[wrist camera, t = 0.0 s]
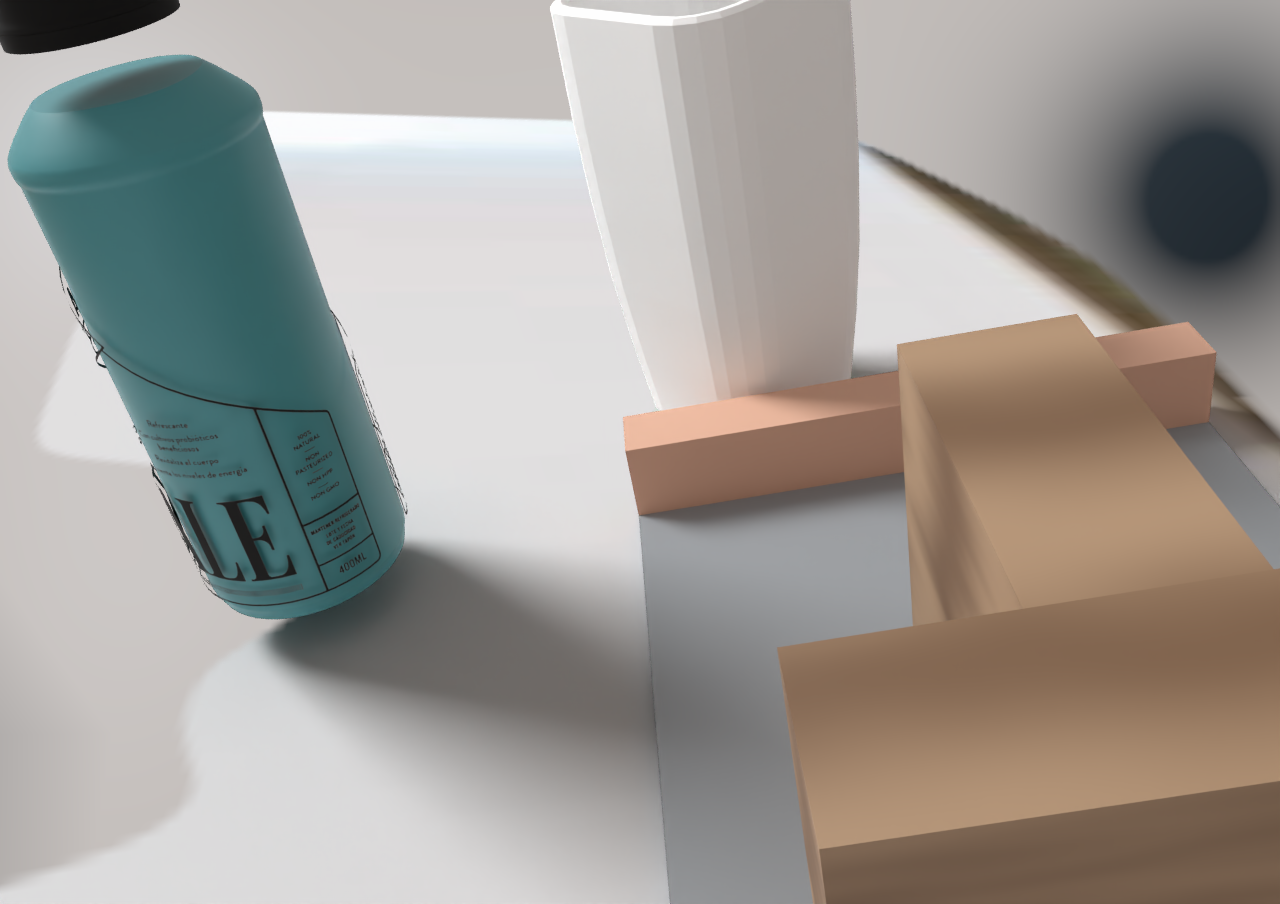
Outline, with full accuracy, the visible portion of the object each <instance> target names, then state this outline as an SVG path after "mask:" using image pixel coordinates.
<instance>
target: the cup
mask: <svg viewBox="0 0 1280 904" xmlns="http://www.w3.org/2000/svg"><path fill="white" fill-rule="evenodd" d="M550 10H551V15H552V20H553V25H554V30H555V35H556V40H557V45H558V50H559V55H560V60H561V65H562V69H563V75H564V80H565V85H566V90H567V95H568V100H569V105H570V109H571V114H572V119H573V124H574V128H575V132H576V137H577V141H578V146H579V150H580V154H581V159H582V163H583V167H584V172H585V176H586V181H587V185H588V189H589V193H590V197H591V201H592V205H593V209H594V212H595V216H596V220H597V224H598V228H599V231H600V235H601V239H602V243H603V247H604V250H605V254H606V258H607V262H608V266H609V269H610V273H611V276H612V280H613V283H614V286H615V289H616V292H617V295H618V299H619V302H620V305H621V308H622V311H623V314H624V317H625V321H626V324H627V327H628V330H629V333H630V336H631V339H632V342H633V345H634V348H635V351H636V354H637V357H638V359H639V362H640V365H641V368H642V370H643V373H644V376H645V379H646V381H647V384H648V387H649V390H650V393H651V395H652V398H653V401H654V404H655V406H656V408H657V409H659V410H660V411H662V410H668V409H674V408H680V407H686V406H692V405H698V404H704V403H709V402H715V401H721V400H727V399H733V398H739V397H745V396H751V395H757V394H763V393H769V392H775V391H781V390H787V389H793V388H799V387H805V386H811V385H816V384H822V383H828V382H834V381H840V380H846V379H851V370H852V358H853V346H854V334H855V322H856V309H857V285H858V262H859V149H858V125H857V102H856V81H855V79H856V78H855V62H854V47H853V33H852V18H851V4H850V0H555V1H554V2H553V4H552V5H551V7H550Z"/></svg>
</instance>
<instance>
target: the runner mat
mask: <svg viewBox="0 0 1280 904" xmlns="http://www.w3.org/2000/svg"><path fill="white" fill-rule="evenodd" d="M1096 340H1097V341H1098V342H1099V343H1100V345H1101V346H1102V347H1103V349H1104V350H1105V351H1106V352H1107V354H1108V355H1109V356H1110V358H1111V359H1112V360H1113V362H1114V363H1115V364H1116V365H1117V367H1118V368H1119V369H1120V371H1121V372H1122V373H1123V374H1124V376H1125V377H1126V378H1127V380H1128V381H1129V382H1130V384H1131V385H1132V386H1133V387H1134V389H1135V390H1136V391H1137V393H1138V394H1139V395H1140V397H1141V398H1142V399H1143V400H1144V402H1145V403H1146V404H1147V406H1148V407H1149V408H1150V409H1151V411H1152V412H1153V413H1154V415H1155V416H1156V417H1157V419H1158V420H1159V421H1160V422H1161V424H1162V425H1163V426H1164V428H1165V429H1166V430H1167V431H1168V433H1169V434H1170V435H1171V437H1172V438H1173V439H1174V441H1175V442H1176V443H1177V444H1178V446H1179V447H1180V448H1181V450H1182V451H1183V452H1184V454H1185V455H1186V456H1187V457H1188V459H1189V460H1190V461H1191V463H1192V464H1193V465H1194V466H1195V468H1196V469H1197V470H1198V472H1199V473H1200V474H1201V476H1202V477H1203V478H1204V479H1205V481H1206V482H1207V483H1208V485H1209V486H1210V487H1211V488H1212V490H1213V491H1214V492H1215V494H1216V495H1217V496H1218V498H1219V499H1220V500H1221V501H1222V503H1223V504H1224V505H1225V507H1226V508H1227V509H1228V511H1229V512H1230V513H1231V514H1232V516H1233V517H1234V518H1235V520H1236V521H1237V522H1238V523H1239V525H1240V526H1241V527H1242V529H1243V530H1244V531H1245V533H1246V534H1247V535H1248V536H1249V538H1250V539H1251V540H1252V542H1253V543H1254V544H1255V545H1256V547H1257V548H1258V549H1259V551H1260V552H1261V553H1262V555H1263V556H1264V557H1265V558H1266V560H1267V561H1268V562H1269V564H1270V565H1271V566H1272V568H1273V569H1279V568H1280V507H1279V505H1278V504H1277V503H1276V502H1275V501H1274V499H1273V498H1272V497H1271V496H1270V495H1269V493H1268V492H1267V491H1266V490H1265V489H1264V487H1263V486H1262V485H1261V484H1260V483H1259V481H1258V480H1257V479H1256V478H1255V477H1254V476H1253V474H1252V473H1251V472H1250V471H1249V470H1248V468H1247V467H1246V466H1245V465H1244V464H1243V462H1242V461H1241V460H1240V459H1239V458H1238V456H1237V455H1236V454H1235V453H1234V452H1233V450H1232V449H1231V448H1230V447H1229V446H1228V444H1227V443H1226V442H1225V441H1224V440H1223V438H1222V437H1221V436H1220V435H1219V434H1218V432H1217V431H1216V430H1215V429H1214V428H1213V426H1212V425H1211V424H1210V423H1209V416H1210V407H1211V398H1212V389H1213V380H1214V371H1215V362H1216V352H1215V350H1214V349H1213V348H1212V347H1211V346H1210V345H1209V344H1208V343H1207V342H1206V341H1205V340H1204V339H1203V337H1202V336H1201V335H1200V334H1199V333H1198V332H1197V331H1196V330H1195V329H1194V328H1193V327H1192V326H1191V325H1190V323H1189V322H1185V323H1179V324H1173V325H1167V326H1161V327H1155V328H1149V329H1143V330H1137V331H1131V332H1125V333H1120V334H1114V335H1108V336H1102V337H1096ZM623 423H624V437H625V451H626V456H627V461H628V466H629V470H630V475H631V480H632V485H633V490H634V494H635V499H636V504H637V509H638V513H639V523H640V535H641V548H642V560H643V573H644V585H645V598H646V610H647V623H648V635H649V648H650V661H651V673H652V686H653V698H654V711H655V723H656V736H657V748H658V761H659V773H660V786H661V798H662V811H663V823H664V836H665V848H666V861H667V873H668V886H669V899H670V904H813V899H812V892H811V885H810V878H809V871H808V864H807V857H806V850H805V843H804V836H803V828H802V821H801V814H800V807H799V800H798V793H797V786H796V779H795V772H794V765H793V758H792V750H791V743H790V736H789V729H788V722H787V715H786V708H785V701H784V694H783V687H782V679H781V672H780V665H779V658H778V651H777V647H783V646H790V645H796V644H802V643H809V642H815V641H821V640H828V639H834V638H840V637H847V636H853V635H859V634H866V633H872V632H879V631H885V630H891V629H898V628H904V627H910V626H913V619H912V601H911V584H910V566H909V548H908V530H907V513H906V495H905V477H904V459H903V441H902V424H901V406H900V388H899V371H894V372H888V373H882V374H876V375H870V376H864V377H858V378H852V379H846V380H840V381H834V382H828V383H822V384H816V385H811V386H805V387H799V388H793V389H787V390H781V391H775V392H769V393H763V394H757V395H751V396H745V397H739V398H733V399H727V400H721V401H715V402H709V403H704V404H698V405H692V406H686V407H680V408H674V409H668V410H662V411H656V412H650V413H644V414H638V415H632V416H626V417H623Z"/></svg>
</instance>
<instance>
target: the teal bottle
mask: <svg viewBox="0 0 1280 904" xmlns="http://www.w3.org/2000/svg"><path fill="white" fill-rule="evenodd" d="M179 7H180V3H179V0H0V43H1V45H2V47H3V50H4V51H5V52H6V53H10V54H34V53H42V52H50V51H56V50H61V49H67V48H72V47H76V46H81V45H84V44H89V43H93V42H97V41H101V40H105V39H108V38H112V37H115V36H118V35H121V34H125V33H128V32H130V31H133V30H136V29H139V28H142V27H145V26H147V25H150V24H152V23H154V22H157V21H159V20H161V19H163V18H165V17H167V16H169V15H170V14H172V13H174V12H175V11H176V10H177V9H178V8H179ZM8 167H9V170H10V172H11V174H12V176H13V178H14V180H15V181H16V183H17V184H18V185H19V186H20V187H21V188H22V190H23V192H24V194H25V197H26V199H27V201H28V203H29V205H30V207H31V209H32V211H33V213H34V215H35V217H36V219H37V221H38V223H39V225H40V227H41V229H42V231H43V233H44V235H45V238H46V240H47V242H48V244H49V246H50V248H51V250H52V252H53V254H54V256H55V258H56V260H57V262H58V264H59V270H60V268H61V270H62V272H63V274H64V276H65V279H66V281H67V282H68V285H69V288H70V290H71V293H72V295H73V296H72V295H71V293H70V291H69V289H68V288H67V290H68V293H69V295H70V298H71V300H72V303H73V305H74V307H75V304H76V307H75V309H76V312H77V310H79V312H80V313H81V315H82V317H83V325H82V324H81V323H80V321H79V320H78V321H79V323H80V324H81V325H82V326H83V327H82V328H84V329H85V327H84V322H85V324H86V326H87V329H88V331H89V332H88V331H87V330H86V329H85V331H84V332H87V333H88V334H89V335H90V336H91V337H92V338H93V342H94V344H95V345H96V347H97V349H98V351H97V352H96V351H95V352H96V354H97V355H96V361H97V359H98V356H99V355H101V357H102V359H103V361H104V363H105V365H106V366H105V365H101V364H99V363H98V362H97V363H98V365H99V366H101V367H103V368H107V369H108V371H109V374H110V376H111V378H112V380H113V382H114V384H115V386H116V388H117V390H118V392H119V394H120V396H121V398H122V401H123V403H124V405H125V407H126V409H127V411H128V413H129V415H130V417H131V419H132V421H133V423H134V425H135V426H134V427H135V428H136V433H137V432H138V434H139V436H140V437H139V438H140V440H142V441H140V443H141V444H142V442H143V444H144V446H145V448H146V450H147V452H148V454H149V457H150V459H151V461H152V463H153V465H154V466H152V464H151V463H150V464H151V467H152V473H153V476H154V477H155V478H156V479H157V480H158V482H159V483H160V484H161V486H162V487H163V488H164V489H165V491H166V493H167V496H168V498H169V501H170V504H171V507H172V509H171V507H170V505H169V504H168V502H167V500H166V498H165V496H164V494H163V493H162V491H161V489H160V488H159V490H160V492H161V494H162V496H163V498H164V500H165V503H166V505H167V506H168V509H169V511H170V513H171V514H172V516H173V518H174V520H175V521H176V524H177V526H178V527H179V529H180V531H181V533H182V535H183V537H184V538H182V539H183V540H184V541H185V543H186V544H187V547H188V550H189V548H190V550H191V552H192V553H193V555H194V558H195V559H196V561H197V562H198V564H199V568H200V569H202V570H203V571H204V572H205V573H206V575H207V577H208V579H209V581H210V582H209V581H208V582H209V584H210V583H211V585H212V587H213V589H214V590H215V592H216V593H217V595H216V594H214V593H213V594H214V595H215V596H217V597H219V598H221V599H223V600H224V602H225V603H227V604H228V605H229V606H230V607H231V608H232V609H234V610H236V611H237V612H239V613H241V614H244V615H247V616H250V617H255V618H261V619H287V618H294V617H300V616H305V615H309V614H313V613H317V612H320V611H323V610H326V609H328V608H331V607H333V606H336V605H338V604H340V603H342V602H344V601H346V600H348V599H350V598H352V597H354V596H355V595H357V594H359V593H360V592H362V591H363V590H365V589H366V588H368V587H369V586H371V585H372V584H373V583H374V582H376V581H377V580H378V579H379V578H380V577H381V576H382V575H383V574H384V573H385V572H386V571H387V570H388V569H389V568H390V567H391V565H392V564H393V563H394V562H395V560H396V558H397V557H398V555H399V553H400V551H401V549H402V547H403V543H404V535H405V527H404V523H405V518H404V511H405V509H404V511H403V508H404V506H403V508H402V505H403V503H402V505H401V502H402V500H401V502H400V500H399V497H398V494H399V492H398V494H397V491H398V490H399V489H398V488H397V486H395V485H396V483H395V485H394V483H393V480H392V477H393V475H395V477H396V473H395V472H394V470H393V469H394V467H393V469H392V468H391V469H392V470H393V472H394V473H395V474H394V473H393V472H391V474H392V473H393V475H392V477H391V474H390V471H391V469H390V471H389V469H388V466H387V463H386V460H387V458H386V460H385V457H386V455H388V454H389V453H388V454H387V453H386V452H385V450H387V449H386V448H385V447H384V449H383V451H384V454H385V453H386V455H385V457H384V454H383V452H382V449H381V446H380V443H381V441H380V443H379V440H380V438H379V440H378V438H377V435H376V432H375V429H374V427H375V428H376V431H377V430H378V428H379V424H378V428H377V427H376V426H375V424H374V425H373V423H374V421H373V423H372V421H371V418H370V415H369V412H368V409H367V406H368V404H367V406H366V404H365V401H364V398H363V395H362V392H363V390H362V392H361V389H362V387H361V389H360V387H359V384H358V381H357V378H356V375H355V373H354V370H353V367H352V364H351V361H350V358H349V356H348V353H347V350H346V347H345V344H344V341H343V339H342V336H341V333H340V330H339V327H338V324H337V322H336V319H337V318H336V319H334V318H335V317H336V316H335V315H334V313H333V312H332V311H331V310H330V308H329V305H328V302H327V299H326V296H325V293H324V290H323V287H322V285H321V282H320V279H319V276H318V273H317V270H316V267H315V264H314V262H313V259H312V256H311V253H310V250H309V247H308V244H307V241H306V239H305V236H304V233H303V230H302V227H301V224H300V221H299V218H298V215H297V213H296V210H295V207H294V204H293V201H292V198H291V195H290V192H289V190H288V187H287V184H286V181H285V178H284V175H283V172H282V169H281V167H280V164H279V161H278V158H277V155H276V152H275V149H274V146H273V143H272V141H271V138H270V135H269V132H268V129H267V126H266V123H265V120H264V118H263V108H262V103H261V100H260V97H259V95H258V93H257V92H256V90H255V89H254V88H253V87H252V86H251V85H249V84H248V83H246V82H245V81H243V80H242V79H240V78H238V77H237V76H234V75H233V74H231V73H229V72H227V71H225V70H223V69H222V68H220V67H218V66H216V65H214V64H212V63H210V62H207V61H205V60H203V59H201V58H199V57H196V56H192V55H169V56H159V57H153V58H146V59H141V60H136V61H132V62H127V63H124V64H120V65H116V66H112V67H109V68H105V69H102V70H98V71H95V72H92V73H89V74H86V75H83V76H80V77H78V78H75V79H72V80H70V81H67V82H65V83H62V84H60V85H58V86H56V87H54V88H52V89H50V90H48V91H46V92H45V93H43V94H41V95H40V96H38V97H37V98H36V99H35V100H33V102H32V103H31V105H30V106H29V108H28V110H27V111H26V113H25V115H24V117H23V119H22V121H21V124H20V126H19V128H18V130H17V133H16V135H15V137H14V139H13V142H12V145H11V147H10V151H9V155H8ZM60 278H61V271H60ZM61 282H62V280H61ZM62 286H63V284H62ZM63 290H64V289H63ZM73 297H74V298H73ZM73 301H74V302H75V304H74V302H73ZM331 312H332V313H333V315H334V317H333V315H332V313H331ZM77 314H78V312H77ZM78 316H79V314H78ZM337 320H338V319H337ZM338 322H339V320H338ZM339 323H340V322H339ZM340 325H341V323H340ZM341 326H342V325H341ZM342 328H343V327H342ZM82 330H83V329H82ZM343 330H344V329H343ZM344 332H345V331H344ZM87 333H86V334H87ZM345 334H346V333H345ZM87 336H88V335H87ZM90 336H88V337H89V339H90V341H91V337H90ZM346 336H347V335H346ZM91 344H92V342H91ZM92 346H93V345H92ZM93 349H94V347H93ZM94 350H95V349H94ZM352 353H353V351H352ZM353 357H354V355H353ZM353 359H354V358H353ZM354 361H356V360H355V359H354ZM355 370H356V364H355ZM358 373H359V371H358ZM356 374H357V372H356ZM360 376H361V374H360ZM357 377H358V376H357ZM361 378H362V377H361ZM358 380H359V379H358ZM362 380H363V379H362ZM359 383H360V381H359ZM363 385H364V382H363ZM360 386H361V384H360ZM364 386H365V385H364ZM364 388H365V387H364ZM365 393H366V392H365ZM363 394H364V393H363ZM366 396H368V395H367V394H366ZM364 397H365V396H364ZM365 400H366V398H365ZM369 400H370V399H369ZM366 403H367V401H366ZM369 403H370V404H371V402H370V401H369ZM371 407H372V405H371ZM368 408H369V407H368ZM369 411H370V410H369ZM373 412H374V410H373ZM370 414H371V413H370ZM372 414H373V413H372ZM373 416H374V417H375V415H373ZM371 417H372V415H371ZM375 418H376V417H375ZM372 420H373V418H372ZM375 422H376V420H375ZM378 431H379V430H378ZM379 432H380V433H381V431H379ZM377 434H378V432H377ZM381 435H382V434H381ZM378 437H379V435H378ZM382 437H383V436H382ZM382 442H383V440H382ZM383 443H384V445H385V442H383ZM381 445H382V444H381ZM385 446H386V445H385ZM382 448H383V447H382ZM387 452H388V451H387ZM388 457H389V455H388ZM389 458H390V457H389ZM390 460H391V458H390ZM387 462H388V461H387ZM389 462H390V461H389ZM391 464H392V463H391ZM388 465H389V464H388ZM392 466H393V464H392ZM154 467H155V468H154ZM390 467H391V466H389V468H390ZM154 469H155V470H156V471H157V473H158V475H159V477H160V479H161V481H162V483H161V481H160V480H159V479H158V477H157V476H156V475H155V473H154ZM393 479H394V478H393ZM396 479H397V480H398V478H397V477H396ZM394 482H395V481H394ZM397 483H398V486H399V482H397ZM396 488H397V491H396ZM399 491H401V487H400V490H399ZM400 493H401V492H400ZM401 495H403V493H401ZM399 496H400V495H399ZM403 498H404V496H403ZM400 499H401V498H400ZM406 507H407V504H406ZM172 510H173V511H172ZM173 512H174V513H173ZM405 513H406V514H407V511H406V512H405ZM179 519H180V520H179ZM180 521H181V522H180ZM181 523H182V525H183V527H184V529H185V531H186V533H187V535H188V537H189V540H190V542H191V543H190V542H189V540H188V538H187V536H186V535H185V533H184V531H183V528H182V525H181ZM191 544H192V545H191ZM192 546H193V547H192ZM189 552H190V551H189ZM194 561H195V560H194ZM200 574H201V572H200ZM201 576H202V575H201ZM210 591H211V590H210ZM211 592H212V591H211Z"/></svg>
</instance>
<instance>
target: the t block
mask: <svg viewBox="0 0 1280 904" xmlns="http://www.w3.org/2000/svg"><path fill="white" fill-rule="evenodd" d="M897 353H898V370H899V388H900V406H901V424H902V441H903V459H904V477H905V495H906V513H907V530H908V548H909V566H910V584H911V601H912V619H913V626H910V627H904V628H898V629H891V630H885V631H879V632H872V633H866V634H859V635H853V636H847V637H840V638H834V639H828V640H821V641H815V642H809V643H802V644H796V645H790V646H783V647H777V651H778V658H779V665H780V672H781V679H782V687H783V694H784V701H785V708H786V715H787V722H788V729H789V736H790V743H791V750H792V758H793V765H794V772H795V779H796V786H797V793H798V800H799V807H800V814H801V821H802V828H803V836H804V843H805V850H806V857H807V864H808V871H809V878H810V885H811V892H812V899H813V904H1280V568H1279V569H1273V568H1272V566H1271V565H1270V564H1269V562H1268V561H1267V560H1266V558H1265V557H1264V556H1263V555H1262V553H1261V552H1260V551H1259V549H1258V548H1257V547H1256V545H1255V544H1254V543H1253V542H1252V540H1251V539H1250V538H1249V536H1248V535H1247V534H1246V533H1245V531H1244V530H1243V529H1242V527H1241V526H1240V525H1239V523H1238V522H1237V521H1236V520H1235V518H1234V517H1233V516H1232V514H1231V513H1230V512H1229V511H1228V509H1227V508H1226V507H1225V505H1224V504H1223V503H1222V501H1221V500H1220V499H1219V498H1218V496H1217V495H1216V494H1215V492H1214V491H1213V490H1212V488H1211V487H1210V486H1209V485H1208V483H1207V482H1206V481H1205V479H1204V478H1203V477H1202V476H1201V474H1200V473H1199V472H1198V470H1197V469H1196V468H1195V466H1194V465H1193V464H1192V463H1191V461H1190V460H1189V459H1188V457H1187V456H1186V455H1185V454H1184V452H1183V451H1182V450H1181V448H1180V447H1179V446H1178V444H1177V443H1176V442H1175V441H1174V439H1173V438H1172V437H1171V435H1170V434H1169V433H1168V431H1167V430H1166V429H1165V428H1164V426H1163V425H1162V424H1161V422H1160V421H1159V420H1158V419H1157V417H1156V416H1155V415H1154V413H1153V412H1152V411H1151V409H1150V408H1149V407H1148V406H1147V404H1146V403H1145V402H1144V400H1143V399H1142V398H1141V397H1140V395H1139V394H1138V393H1137V391H1136V390H1135V389H1134V387H1133V386H1132V385H1131V384H1130V382H1129V381H1128V380H1127V378H1126V377H1125V376H1124V374H1123V373H1122V372H1121V371H1120V369H1119V368H1118V367H1117V365H1116V364H1115V363H1114V362H1113V360H1112V359H1111V358H1110V356H1109V355H1108V354H1107V352H1106V351H1105V350H1104V349H1103V347H1102V346H1101V345H1100V343H1099V342H1098V341H1097V340H1096V338H1095V337H1094V336H1093V334H1092V333H1091V332H1090V330H1089V329H1088V328H1087V327H1086V325H1085V324H1084V323H1083V321H1082V320H1081V319H1080V317H1079V316H1078V315H1077V314H1074V315H1068V316H1062V317H1056V318H1050V319H1044V320H1038V321H1032V322H1026V323H1021V324H1015V325H1009V326H1003V327H997V328H991V329H985V330H979V331H973V332H967V333H962V334H956V335H950V336H944V337H938V338H932V339H926V340H920V341H914V342H908V343H903V344H897Z"/></svg>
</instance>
